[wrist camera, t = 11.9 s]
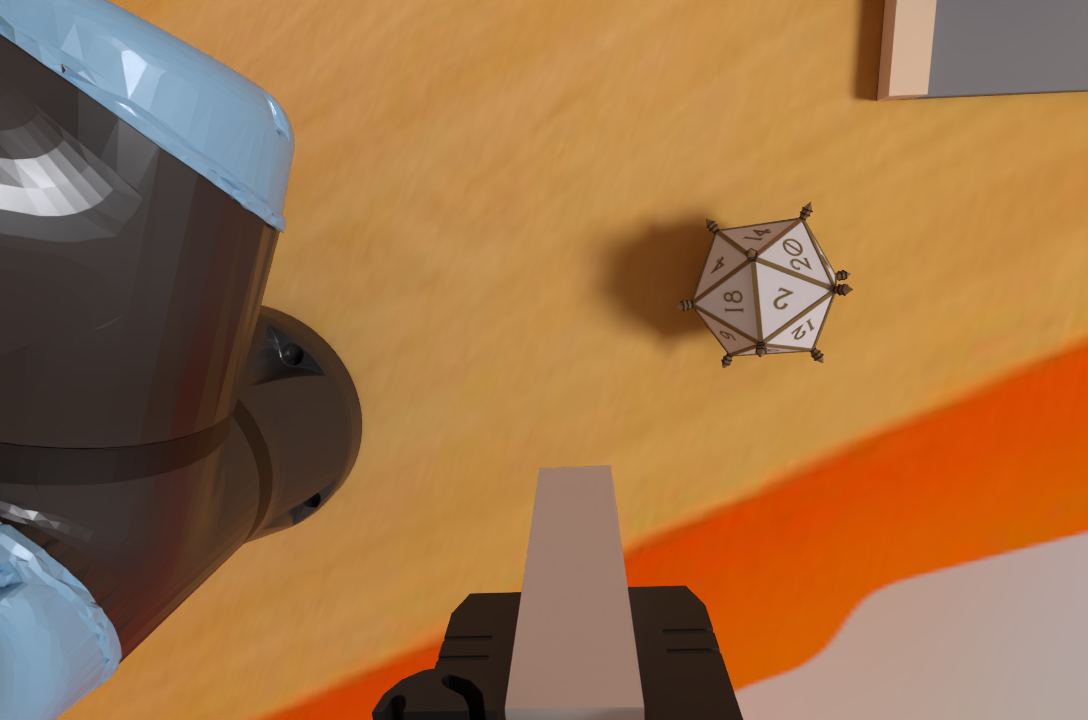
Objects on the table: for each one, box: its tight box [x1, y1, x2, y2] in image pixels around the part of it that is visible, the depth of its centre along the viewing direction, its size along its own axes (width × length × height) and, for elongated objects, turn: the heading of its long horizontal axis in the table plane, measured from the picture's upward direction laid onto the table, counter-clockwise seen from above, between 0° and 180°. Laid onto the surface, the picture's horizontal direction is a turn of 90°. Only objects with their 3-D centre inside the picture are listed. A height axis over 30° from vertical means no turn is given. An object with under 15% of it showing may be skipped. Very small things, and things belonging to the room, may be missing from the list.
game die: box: [676, 202, 853, 368], centre depth 34 cm, size 9×8×10 cm
